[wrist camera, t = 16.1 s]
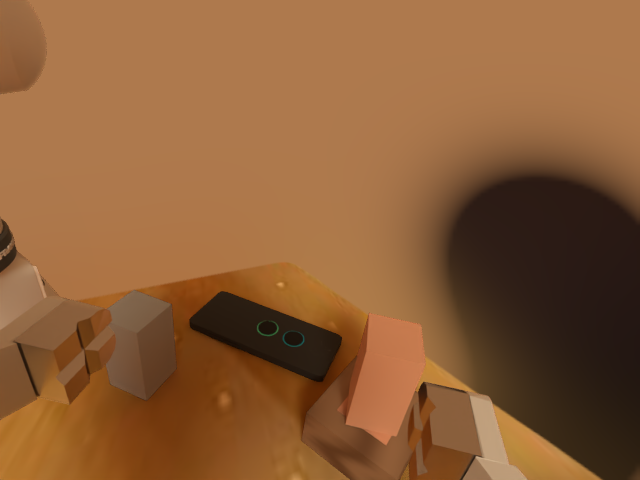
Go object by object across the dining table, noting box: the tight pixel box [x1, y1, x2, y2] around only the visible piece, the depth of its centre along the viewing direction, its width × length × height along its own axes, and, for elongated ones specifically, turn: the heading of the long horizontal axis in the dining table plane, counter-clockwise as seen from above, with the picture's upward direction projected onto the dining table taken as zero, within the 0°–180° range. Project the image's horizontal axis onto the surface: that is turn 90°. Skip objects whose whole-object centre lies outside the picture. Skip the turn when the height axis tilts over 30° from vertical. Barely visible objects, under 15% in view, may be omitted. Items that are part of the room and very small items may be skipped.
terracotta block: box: [345, 313, 426, 437], centre depth 35 cm, size 5×5×10 cm
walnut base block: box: [302, 356, 419, 480], centre depth 39 cm, size 10×10×5 cm
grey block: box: [106, 290, 177, 401], centre depth 41 cm, size 5×5×10 cm
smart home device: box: [190, 291, 342, 382], centre depth 51 cm, size 8×2×20 cm
